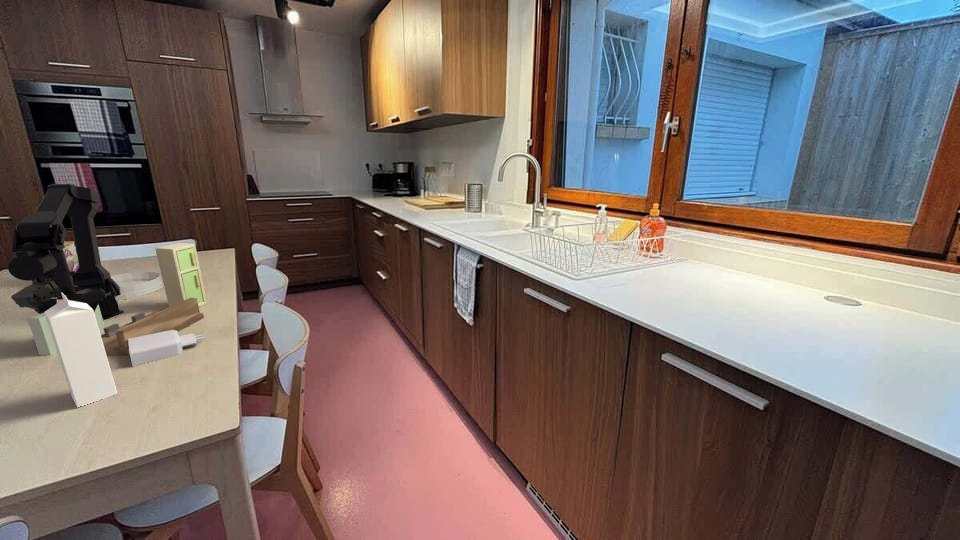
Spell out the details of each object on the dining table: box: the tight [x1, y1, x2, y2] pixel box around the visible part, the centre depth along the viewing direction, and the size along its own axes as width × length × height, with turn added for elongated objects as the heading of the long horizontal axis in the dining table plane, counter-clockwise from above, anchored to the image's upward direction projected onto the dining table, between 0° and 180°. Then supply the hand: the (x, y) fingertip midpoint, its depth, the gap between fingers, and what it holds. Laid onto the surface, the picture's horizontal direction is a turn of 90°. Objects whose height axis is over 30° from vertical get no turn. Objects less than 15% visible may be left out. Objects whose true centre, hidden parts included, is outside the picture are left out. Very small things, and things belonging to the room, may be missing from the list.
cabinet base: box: [100, 298, 205, 356], centre depth 107 cm, size 16×24×6 cm, turn 177°
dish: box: [110, 271, 164, 302], centre depth 142 cm, size 22×22×5 cm
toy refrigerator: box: [155, 242, 208, 308], centre depth 125 cm, size 8×7×21 cm
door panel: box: [26, 305, 106, 356], centre depth 102 cm, size 3×14×10 cm, turn 177°
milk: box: [44, 293, 118, 408], centre depth 76 cm, size 6×6×22 cm
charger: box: [128, 330, 206, 368], centre depth 98 cm, size 5×9×15 cm
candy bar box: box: [63, 240, 79, 280], centre depth 149 cm, size 11×5×16 cm, turn 6°
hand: (70, 326), depth 102 cm, fingers open, 9 cm apart
